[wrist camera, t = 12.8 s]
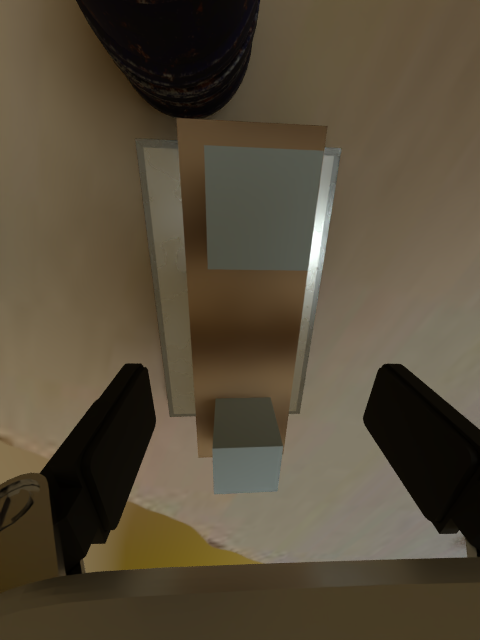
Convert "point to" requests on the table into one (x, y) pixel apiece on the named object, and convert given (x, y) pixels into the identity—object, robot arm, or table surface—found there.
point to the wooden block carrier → (238, 287)
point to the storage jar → (178, 48)
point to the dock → (171, 276)
